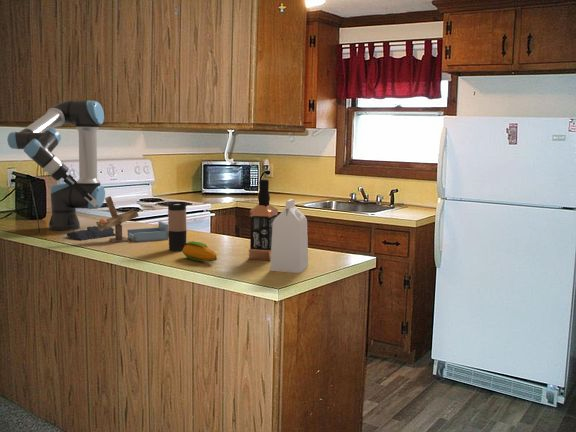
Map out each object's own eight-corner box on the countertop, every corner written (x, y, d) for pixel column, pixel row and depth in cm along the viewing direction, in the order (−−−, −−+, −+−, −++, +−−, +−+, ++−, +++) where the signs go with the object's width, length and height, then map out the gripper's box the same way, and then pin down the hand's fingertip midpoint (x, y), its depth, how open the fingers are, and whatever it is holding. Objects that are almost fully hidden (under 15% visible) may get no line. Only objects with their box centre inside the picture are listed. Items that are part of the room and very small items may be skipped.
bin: (134, 242, 281) (133, 227, 280) (127, 237, 292) (127, 223, 291) (168, 239, 289) (168, 224, 288) (160, 235, 299) (160, 221, 298)
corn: (192, 237, 253) (223, 244, 239) (193, 255, 254) (224, 263, 241) (177, 240, 248) (208, 248, 234) (179, 259, 249) (210, 267, 235)
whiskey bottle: (271, 261, 245) (272, 180, 240) (248, 259, 248) (248, 180, 243) (278, 255, 255) (279, 178, 250) (256, 254, 258) (256, 178, 253)
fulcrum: (113, 242, 279) (112, 226, 278) (109, 240, 285) (109, 224, 284) (128, 241, 283) (128, 225, 282) (124, 239, 289) (124, 223, 288)
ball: (101, 225, 282) (99, 218, 281) (109, 224, 282) (106, 216, 281) (99, 227, 278) (97, 220, 278) (106, 226, 278) (104, 218, 277)
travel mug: (166, 248, 267) (166, 203, 264) (184, 247, 270) (183, 202, 267) (170, 252, 260) (170, 205, 257) (188, 250, 263) (188, 204, 260)
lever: (101, 231, 276) (92, 206, 273) (97, 228, 284) (88, 204, 280) (139, 216, 283) (130, 192, 280) (134, 214, 291) (125, 190, 288)
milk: (279, 263, 241) (280, 197, 237) (308, 266, 237) (309, 199, 234) (269, 270, 229) (270, 201, 225) (299, 273, 226) (300, 202, 222)
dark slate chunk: (62, 238, 292) (61, 228, 292) (102, 232, 309) (101, 223, 309) (80, 242, 283) (79, 231, 282) (120, 236, 300) (120, 226, 299)
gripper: (48, 173, 275) (88, 209, 286) (52, 176, 264) (93, 212, 274) (60, 161, 277) (99, 197, 287) (64, 163, 266) (105, 200, 276)
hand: (96, 204), depth 281 cm, fingers closed
